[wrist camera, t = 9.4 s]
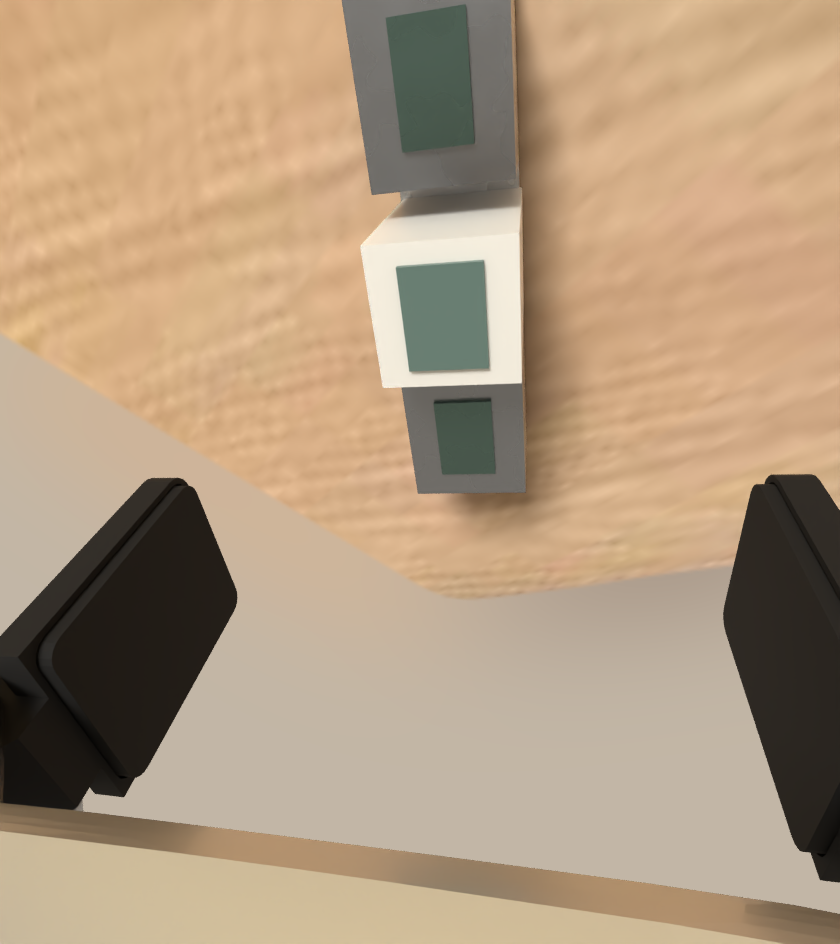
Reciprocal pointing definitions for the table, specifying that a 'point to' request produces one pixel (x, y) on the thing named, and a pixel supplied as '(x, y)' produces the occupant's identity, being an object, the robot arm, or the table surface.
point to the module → (448, 290)
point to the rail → (445, 193)
